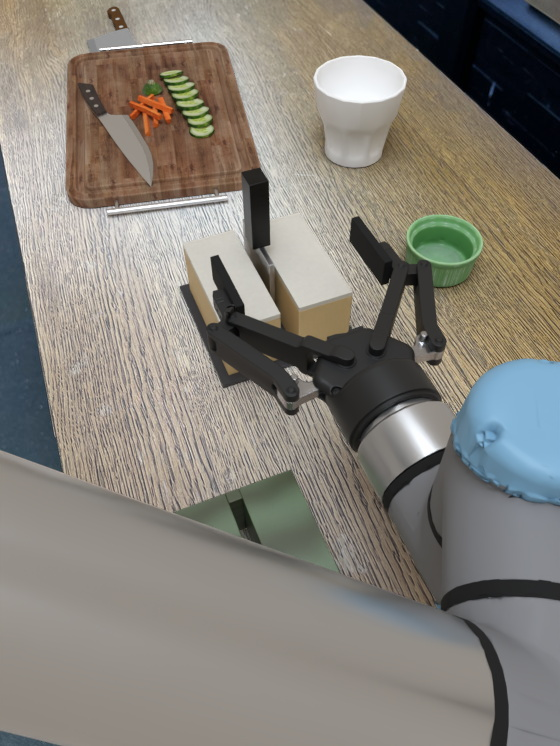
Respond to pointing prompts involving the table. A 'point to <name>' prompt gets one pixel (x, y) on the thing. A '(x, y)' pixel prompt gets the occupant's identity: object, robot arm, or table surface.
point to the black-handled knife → (258, 225)
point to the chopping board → (155, 126)
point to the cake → (292, 286)
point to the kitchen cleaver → (113, 33)
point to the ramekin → (444, 247)
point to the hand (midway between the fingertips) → (286, 247)
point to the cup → (357, 106)
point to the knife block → (268, 518)
